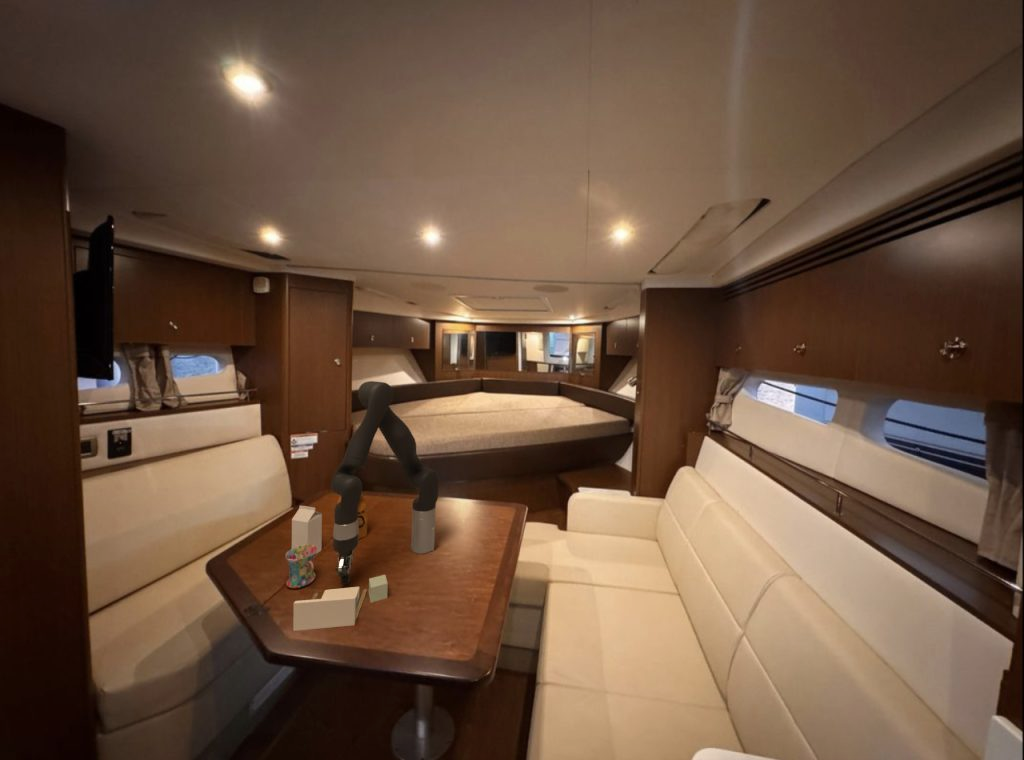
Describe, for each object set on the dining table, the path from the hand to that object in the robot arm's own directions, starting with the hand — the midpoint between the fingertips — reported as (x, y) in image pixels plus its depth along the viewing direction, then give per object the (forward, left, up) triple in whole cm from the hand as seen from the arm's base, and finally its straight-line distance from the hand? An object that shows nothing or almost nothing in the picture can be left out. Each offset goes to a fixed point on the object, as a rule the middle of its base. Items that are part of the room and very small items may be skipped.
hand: (345, 583), depth 112 cm
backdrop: (0, +17, -1) cm, 17 cm away
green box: (-12, +6, -1) cm, 13 cm away
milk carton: (+20, -21, -1) cm, 29 cm away
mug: (+14, -3, -1) cm, 15 cm away
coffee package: (+7, -34, -1) cm, 35 cm away
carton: (-1, +11, -2) cm, 11 cm away
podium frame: (0, +10, -1) cm, 10 cm away
